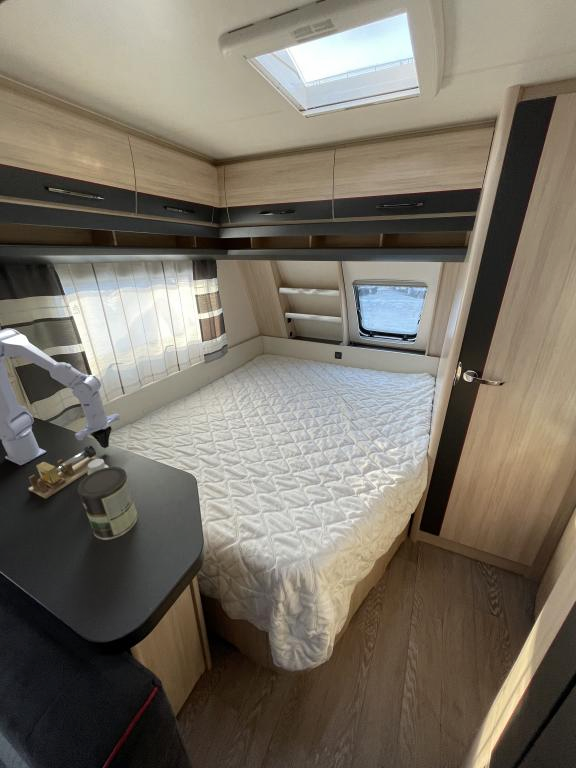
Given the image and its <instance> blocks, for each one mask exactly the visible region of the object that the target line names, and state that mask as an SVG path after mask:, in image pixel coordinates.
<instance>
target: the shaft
mask: <svg viewBox="0 0 576 768" xmlns="http://www.w3.org/2000/svg"><path fill="white" fill-rule="evenodd" d="M95 449H96V448H94V447H93V446H92V445H87V446H84V447H83V449H82V451H81V452H80V453H78V454H76V455H74V456H73V457H71V458H69V459H67V460H65V461H63V462H64V463H62V464H61V466H60V467H59V466H58V467H56V469H57V472H58V473H59V472H61V471H63V470H67V468H66V466H65V465H66V464H68V463H71V465H72V466H74V465H75V464H77V463H79V462H80V461H82V460H84V459H85V458H87V457H88V458H92V457H96V455H97V452H96V450H95Z"/></svg>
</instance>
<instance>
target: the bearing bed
mask: <svg viewBox="0 0 576 768" xmlns="http://www.w3.org/2000/svg"><path fill="white" fill-rule="evenodd" d="M95 459H101V458H99V457H97V456H94V457H92V458H88V457H87V458H85V459H84V460H82V461H80V462H79V463H77V464H75V465H74V466H72V465H71V463H68V464H66V465H65V466H66V468H67V470H63V471H61V472H59V473H58V474H59V477H60V479H61V481H60V482H58V483H57V484H55V485H54V486H53V485H50V484H48V483H46V482H45V481H44V479H42V478H41V477H40V478H37V476H36V475H35V474H32V475H30V476H29V477H28V480H29V482H30V484H31V486H30V487H28V490H29V491H30V492H32V493H33V494H35V495H38V496H39V497H42V498H43V499H46V500H47V499H48V498H49V497H51V496H52V495H54V494H55V493H57V492H59V491H61V490H62V489H64V488H65V487H67V486H68V485H70V484H71V483H72V482H74V481H76V480H77V479H80V478H81V477H82V476H84V475H85V474H86V473H87V474H88V471H89V469H88V464H89V463H90V462H91V461H93V460H95ZM56 462H57V465H58V467H60V466H61V464H62V463H64V462H65V461H64V460H63V459H62V458H61V459H59V460H58V461H56Z"/></svg>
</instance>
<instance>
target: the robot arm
mask: <svg viewBox="0 0 576 768" xmlns="http://www.w3.org/2000/svg"><path fill="white" fill-rule="evenodd" d="M19 357H22V358H23V359H25V360H27V361H29V362H31V363H33V364H34V365H36V366H38V367H40V368H42V369H44V370H46V371H48V372H49V375H50V378H52V379H53V380H56V381H57V382H59V383H60V384H62V385H63V386H65V387H67V388H69V389H70V390H72V391H71V393H72V395H73V396H74V397H75V398H76V399H78V402H79V403H80V406H81V408H82V411H83V414H84V418H85V421H86V424H87V425H86V426H85V427H83V428H82V429H81V430H80V431H78V432H76V433H75V434H74V436H75V438H76V440H78V441H80V442H81V441H82V440H84V438H86V437H88V436H91V437H93V438H94V439H95V440H96V441H97V442H98V443H99V446H100V447H102V448H103V449H107V448H108V447H109V446H110V445H109V444H110V443H109V442H110V435H111V433H112V431H113V430H112V426H110V425H111V424H112V423H114V422H116V421H119V420H121V416H120V414H118V413H113V414H111V415H108V416H107V415H106V411H105V407H104V404H103V401H102V397H101V394H100V391H99V390H100V389H101V387H102V383H101V381H100V380H99V378H97V377H96V376H95V375H92V374H86V373H83V372H81V371H79V370H78V369H76V368H75V367H73V365H72V364H70V363H67V362H64V361H63V362H62V361H60V362H59V361H58V362H57V361H56V360H55V359H53V358H52V357H51V356H49V355H48V354H47V353H45V352H44V351H42V350H41V349H39V348H38V347H37V346H35V345H33V343H31V342H29V339H28V338H27V336H26V335H24V334H22V333H20V332H19V331H18V330H16V329H13V328H7V327H6V328H4V329H2V330H0V440H1V443H2V445H3V448H4V450H5V452H6V453H7V455H6V456H5V459H6V460H8V461H11V462H12V463H15V464H17V465H19V466H22V465H25V464H27V463H28V462H31V461H32V460H34V459H36V458H38V457H40V456H42V455H43V454H45V453H47V450H44V449H42V448H40V447H39V445H38V442H37V440H36V439H37V438H36V437H35V435H34V432H33V430H32V429H33V426H32V424H33V423H34V421H35V419H34V416H33V415H32V414H31V412H29V410H28V409H27V407H26V406H23V405H20V404H19V401H18V399H17V396H16V393H15V391H14V387H13V386H12V382H11V380H10V377H9V374H8V372H7V370H6V367H5V364H4V360H5V358H19Z"/></svg>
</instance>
